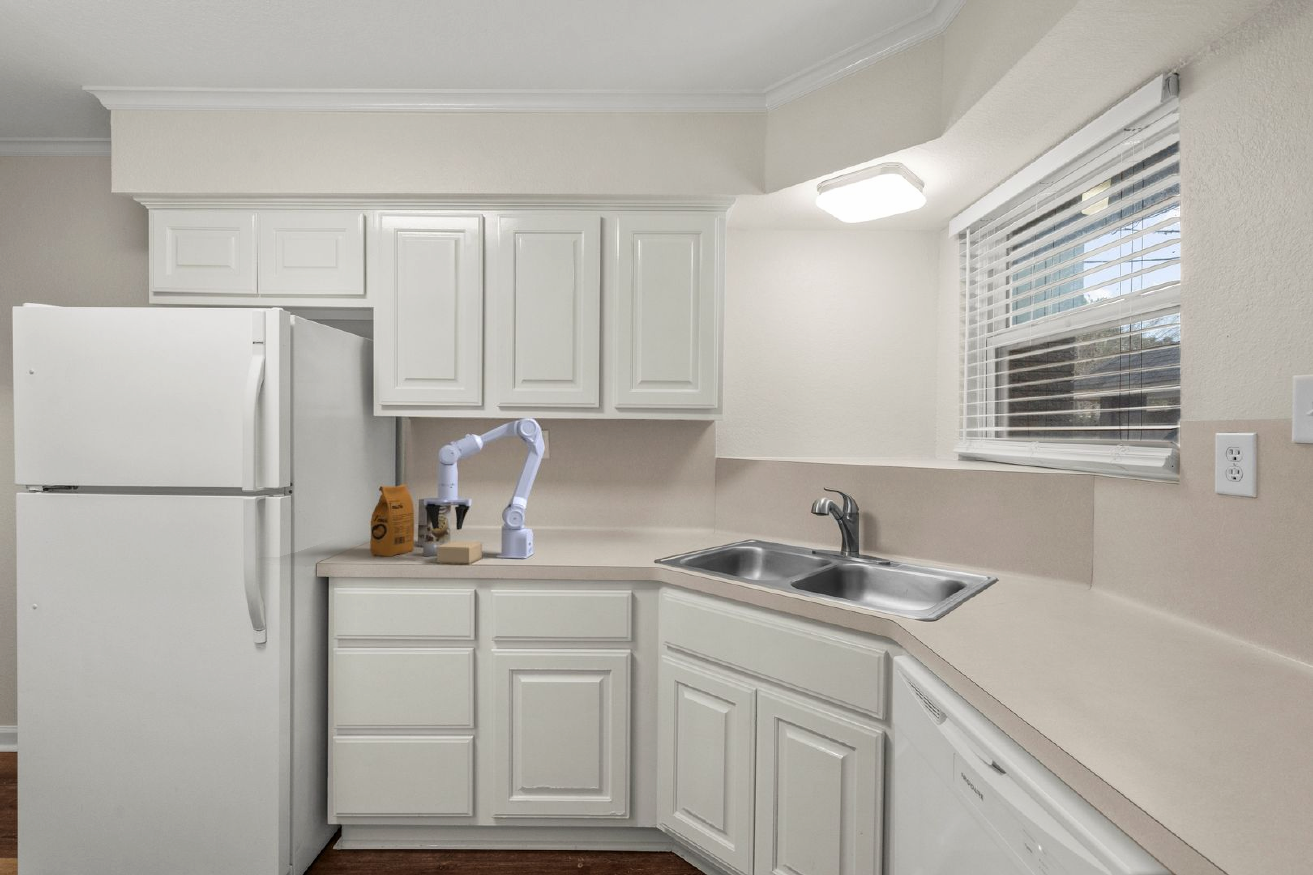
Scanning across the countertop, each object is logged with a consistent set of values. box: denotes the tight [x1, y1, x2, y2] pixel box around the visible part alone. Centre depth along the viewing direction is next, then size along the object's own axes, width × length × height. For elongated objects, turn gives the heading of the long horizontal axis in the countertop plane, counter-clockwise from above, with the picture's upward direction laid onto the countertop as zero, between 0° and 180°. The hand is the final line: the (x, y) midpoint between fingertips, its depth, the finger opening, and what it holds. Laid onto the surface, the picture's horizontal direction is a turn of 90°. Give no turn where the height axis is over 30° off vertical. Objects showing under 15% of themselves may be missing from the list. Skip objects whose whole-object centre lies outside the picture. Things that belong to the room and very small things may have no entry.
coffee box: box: [417, 498, 452, 547], centre depth 209 cm, size 9×6×16 cm
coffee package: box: [369, 483, 415, 558], centre depth 194 cm, size 10×12×22 cm
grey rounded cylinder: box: [422, 541, 440, 557], centre depth 192 cm, size 5×5×4 cm
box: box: [436, 543, 483, 566], centre depth 183 cm, size 10×9×4 cm
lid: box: [437, 540, 483, 550], centre depth 183 cm, size 10×9×1 cm
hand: (447, 528), depth 185 cm, fingers open, 7 cm apart
